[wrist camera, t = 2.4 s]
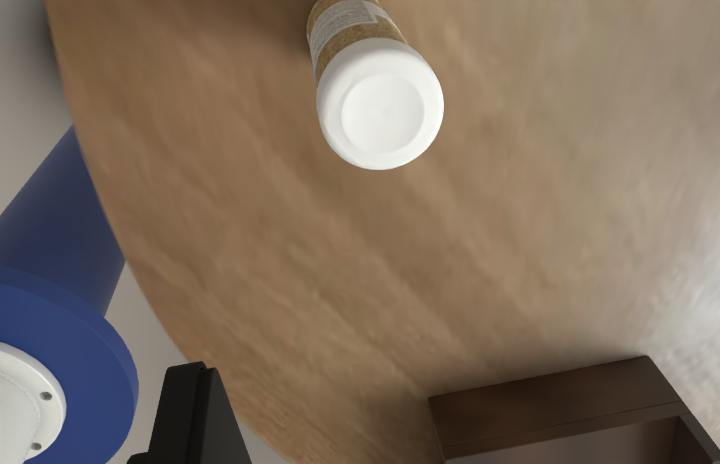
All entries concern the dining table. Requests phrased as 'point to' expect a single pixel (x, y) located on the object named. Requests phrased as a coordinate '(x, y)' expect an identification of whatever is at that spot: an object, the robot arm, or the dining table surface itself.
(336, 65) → the sprinkles bottle
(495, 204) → the dining table surface
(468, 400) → the shelf
